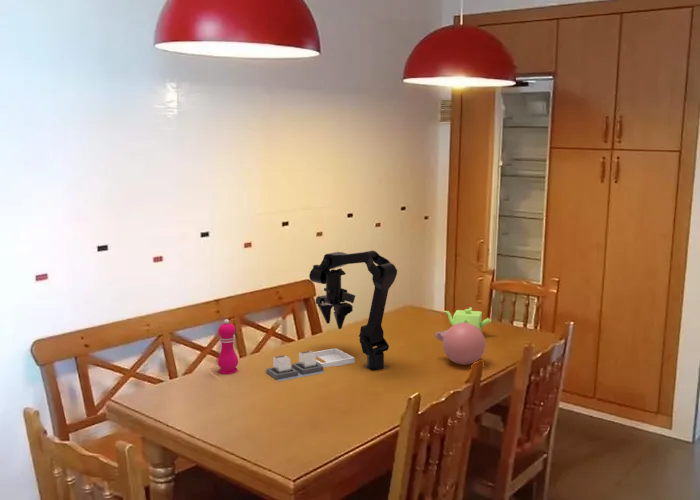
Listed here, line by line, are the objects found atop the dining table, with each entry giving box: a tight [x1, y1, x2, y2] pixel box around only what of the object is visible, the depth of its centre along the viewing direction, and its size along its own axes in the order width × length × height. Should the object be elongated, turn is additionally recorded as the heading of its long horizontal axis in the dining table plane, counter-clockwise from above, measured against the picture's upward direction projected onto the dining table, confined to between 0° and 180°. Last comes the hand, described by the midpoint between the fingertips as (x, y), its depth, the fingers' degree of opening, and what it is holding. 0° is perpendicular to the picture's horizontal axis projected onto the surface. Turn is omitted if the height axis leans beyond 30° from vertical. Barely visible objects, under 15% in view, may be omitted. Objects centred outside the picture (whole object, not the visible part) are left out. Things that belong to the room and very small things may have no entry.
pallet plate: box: [264, 362, 326, 382], centre depth 262 cm, size 12×18×3 cm, turn 120°
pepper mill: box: [217, 319, 239, 375], centre depth 261 cm, size 7×7×20 cm
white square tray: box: [312, 347, 356, 369], centre depth 275 cm, size 14×14×2 cm
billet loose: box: [298, 350, 317, 369], centre depth 264 cm, size 4×4×6 cm
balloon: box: [434, 323, 486, 366], centre depth 273 cm, size 15×20×15 cm
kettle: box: [443, 306, 492, 332], centre depth 309 cm, size 15×14×11 cm
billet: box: [272, 355, 292, 374], centre depth 259 cm, size 4×4×6 cm
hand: (334, 326), depth 280 cm, fingers open, 9 cm apart
